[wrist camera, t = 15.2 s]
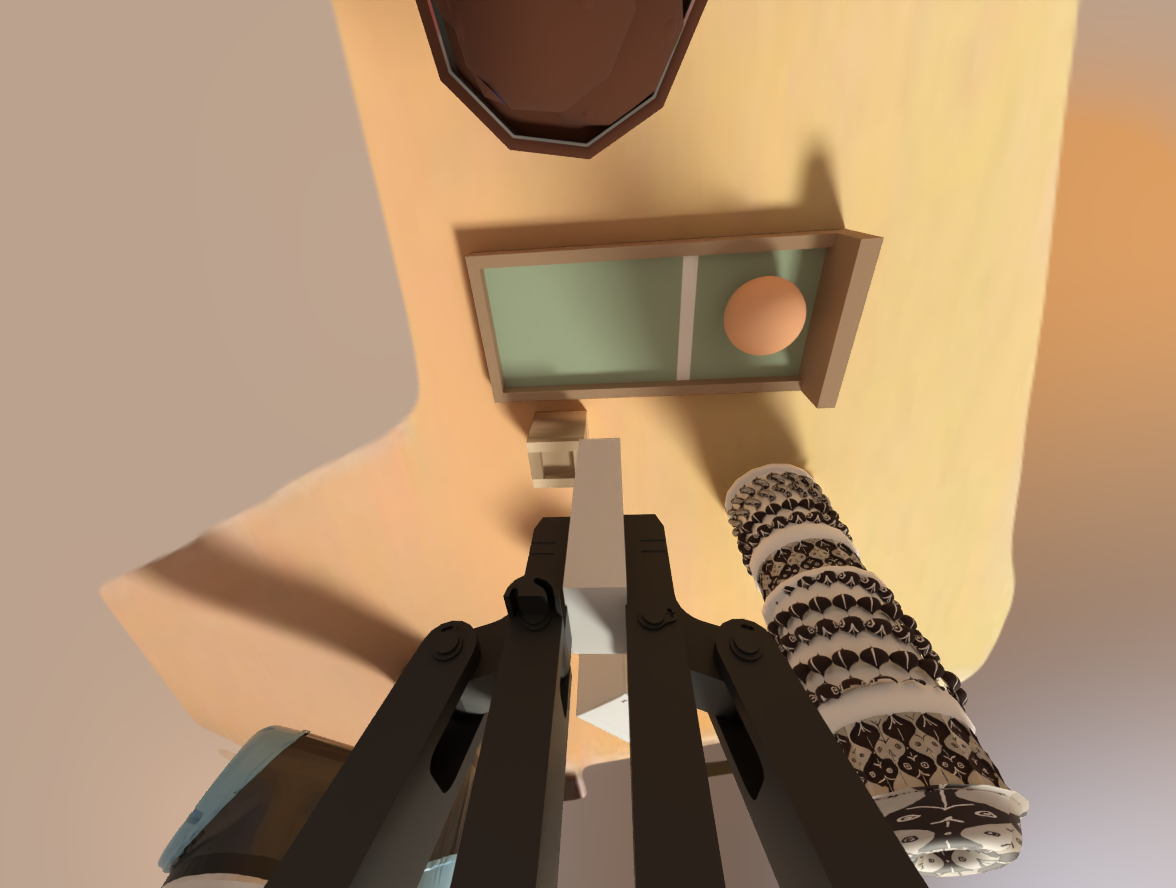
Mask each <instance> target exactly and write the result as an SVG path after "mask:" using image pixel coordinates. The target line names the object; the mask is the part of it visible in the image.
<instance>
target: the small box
mask: <svg viewBox="0 0 1176 888" xmlns="http://www.w3.org/2000/svg"><path fill="white" fill-rule="evenodd" d="M576 717H578V718H580V719H582V720H585V721H587V722H589V723H590V724H592V725H594V726H596V727H598V728H600V729H602V730H604V731H606V732H608V733H610V734H612V735H614V736H616V737H618V738H620V739H622V740H624V741H626V742H628V743H630V738H629V710H628V685H627V654H579V671H578V690H577V709H576Z"/></svg>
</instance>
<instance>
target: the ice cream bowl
mask: <svg viewBox="0 0 1176 888" xmlns="http://www.w3.org/2000/svg"><path fill="white" fill-rule="evenodd" d="M707 1H708V0H416V3H417V6H418V10H419V13H420V16H421V19H422V22H423V26H424V29H425V32H426V35H427V39H428V42H429V45H430V48H431V51H432V55H433V58H434V61H435V64H436V67H437V71H438V74H439V77H440V80H441V81H442V82H443V83H444V84H445V85H446V86H447V87H448V88H449V89H450V90H451V91H452V92H453V93H454V94H455V95H456V96H457V97H458V98H459V99H460V100H461V101H462V102H463V103H464V104H465V105H466V106H467V107H468V108H469V109H470V110H471V111H472V112H473V113H474V114H475V115H476V116H477V117H478V118H479V119H480V120H481V121H482V122H483V123H484V124H485V125H486V126H487V127H488V128H489V129H490V130H491V131H492V132H493V133H494V134H495V135H496V136H497V137H498V138H499V139H500V140H501V141H502V142H503V143H504V144H505V145H506V146H507V147H508V148H509V149H510V150H516V151H525V152H533V153H542V154H550V155H558V156H567V157H575V158H584V159H591V158H592V157H593V156H595V155H596V154H598V153H599V152H600V151H602V150H603V149H605V148H606V147H607V146H609V145H610V144H612V143H613V142H615V141H616V140H617V139H619V138H620V137H622V136H623V135H624V134H626V133H627V132H629V131H630V130H631V129H633V128H634V127H636V126H637V125H638V124H640V123H641V122H643V121H644V120H646V119H647V118H648V117H650V116H651V115H653V114H654V113H655V112H657V111H658V110H660V109H661V108H662V107H663V106H664V103H665V101H666V98H667V96H668V94H669V91H670V89H671V86H672V84H673V82H674V79H675V77H676V75H677V72H678V70H679V67H680V65H681V63H682V60H683V58H684V56H685V53H686V51H687V48H688V46H689V44H690V41H691V39H692V36H693V34H694V32H695V29H696V27H697V25H698V22H699V20H700V17H701V15H702V13H703V10H704V8H705V6H706V3H707Z"/></svg>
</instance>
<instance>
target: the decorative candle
mask: <svg viewBox="0 0 1176 888" xmlns="http://www.w3.org/2000/svg"><path fill="white" fill-rule="evenodd" d="M724 506H725V509H726V511H727V514H728V517H729V520H728V522H729V523H730V524H732V527H736V528H734V529H733V532H732V534H733V535H734V536H738V541H737V544H738V549H739V551H740V552H741V553H742V554H743V555H742V556H743V564H744V565H745V566H746V567H748V568H747V571H748V573H749V574H750V575H751V576H753V578H754V581H755V583H756V586H757V589H758V591H760V592H761V593H762V596H763V599H764V602H765V603H764V606H763V609H762V613H763V616H764V619H765V622H766V625H767V630H768V633H769V634H770V635H771V636H772V638H773V639H774V640H775V642H776V644H777V645H778V647H779V648H780V650H781V652H782V653H783V655H784V656H785V658H786V660H787V661H788V663H789V664H790V666H791V668H792V669H793V671H794V672H795V674H796V676H797V677H798V679H799V680H800V682H801V684H802V685H803V687H804V688H805V690H806V692H807V693H808V695H809V697H810V698H811V700H812V701H813V703H814V705H815V706H816V708H817V709H818V711H819V713H820V714H821V716H822V717H823V719H824V721H825V722H826V724H827V725H828V727H829V729H830V730H831V732H832V733H833V735H834V737H835V738H836V740H837V741H838V743H839V745H840V746H841V748H842V749H843V751H844V753H845V754H846V756H847V758H848V759H849V761H850V762H851V764H852V766H853V767H854V769H855V770H856V772H857V774H858V775H859V777H860V778H861V780H862V782H863V783H864V785H865V786H866V788H867V790H868V791H869V793H870V794H871V796H872V798H873V799H874V801H875V802H876V804H877V806H878V807H879V809H880V810H881V812H882V814H883V815H884V817H885V819H886V820H887V822H888V823H889V825H890V827H891V828H892V830H893V831H894V833H895V835H896V836H897V838H898V839H899V841H900V843H901V844H902V846H903V847H904V849H905V851H906V852H907V854H908V855H909V857H910V859H911V860H912V862H913V863H914V865H915V867H916V868H917V870H918V871H919V873H920V875H921V876H931V877H947V876H964V875H970V874H977V873H983V872H987V871H990V870H994V869H998V868H1001V867H1003V866H1005V865H1007V864H1009V863H1010V862H1012V861H1014V860H1015V859H1017V857H1018V855H1019V853H1020V849H1021V846H1022V833H1021V825H1020V819H1021V818H1023V817H1024V816H1025V815H1026V814H1027V811H1028V807H1029V804H1030V803H1029V802H1028V801H1027V800H1026V799H1025V798H1023V797H1022V796H1021V795H1020V794H1019V793H1017V792H1015V791H1011V790H1010V789H1009V788H1008V787H1007V786H1006V784H1005V783H1004V781H1003V779H1002V777H1001V775H1000V773H999V771H998V769H997V768H996V766H995V765H994V764H993V762H992V761H991V759H990V758H989V756H988V754H987V753H986V752H985V751H984V750H983V749H982V747H981V746H980V744H979V742H978V739H977V737H976V736H975V730H976V729H975V727H974V726H973V724H972V723H971V721H970V720H969V718H968V717H967V715H966V714H965V709H964V708H963V706H964V705H965V704H966V702H967V694H966V692H965V691H964V690H963V689H962V688H960V685H961V684H960V680H959V678H958V677H957V676H956V675H955V674H953V673H951V672H949V671H944V668H943V666H942V665H941V664H940V658H939V656H938V654H937V653H936V652H934V651H933V650H932V646H931V644H930V642H929V641H928V640H927V639H926V638H924V637H923V636H922V634H921V633H920V632H919V631H918V630H916V628H917V624H916V621H915V620H914V619H913V618H912V617H910V616H908V615H903V611H902V610H901V606H900V604H899V603H898V602H897V601H895V600H894V595H893V593H892V591H891V590H890V589H888V588H887V587H886V585H885V584H884V583H883V582H882V581H881V580H880V579H879V578H878V577H877V576H876V575H875V574H874V573H872V572H869V571H867V570H866V568H865V567H864V566H863V565H862V563H861V561H860V555H859V552H858V551H857V549H856V548H855V546H854V545H853V543H852V537H851V536H850V535H849V534H848V532H849V530H848V528H847V526H846V525H844V524H842V523H841V522H840V521H839V520H838V519H839V515H838V513H837V512H836V511H834V510H833V509H832V507H831V506H830V501H829V499H828V498H827V497H826V496H825V495H824V494H822V489H821V487H820V486H819V485H818V484H816V482H815V480H814V479H813V478H812V477H811V476H810V475H809V474H808V473H807V472H806V471H805V469H802V468H799V467H797V466H794V465H791V464H767V465H764V466H760V467H757V468H754V469H751V470H750V471H748V472H747V473H745V474H744V475H742V476H741V477H739V478H738V479H736V481H735V482H734V483H733V485H732V486H731V487H730V489H729V490H728V491H727V494H726V499H725V504H724ZM901 624H903V625H901ZM776 636H777V637H776ZM921 654H922V656H923V658H924V659H923V658H922V656H921ZM940 677H941V679H942V680H943V681H944V682H945V684H946V685H947V686H948V687H947V686H946V688H947V690H948V692H949V693H948V692H947V691H946V690H945V688H944V687H942V686H940V685H939V683H938V680H939V679H940ZM945 684H944V685H945Z"/></svg>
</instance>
